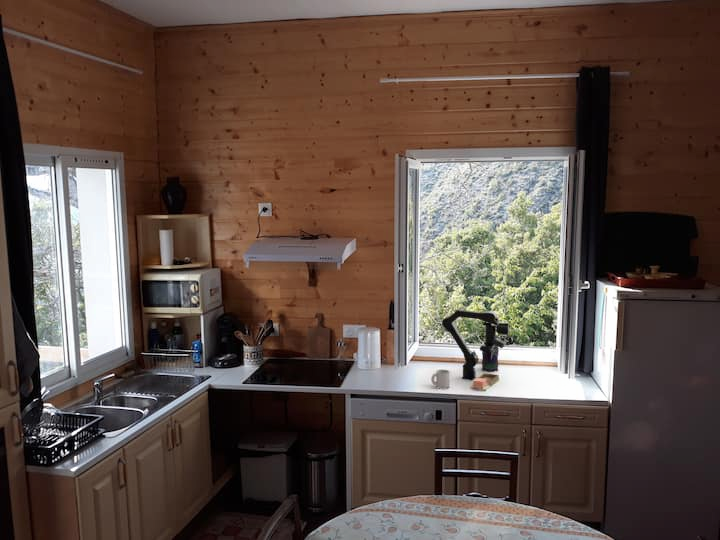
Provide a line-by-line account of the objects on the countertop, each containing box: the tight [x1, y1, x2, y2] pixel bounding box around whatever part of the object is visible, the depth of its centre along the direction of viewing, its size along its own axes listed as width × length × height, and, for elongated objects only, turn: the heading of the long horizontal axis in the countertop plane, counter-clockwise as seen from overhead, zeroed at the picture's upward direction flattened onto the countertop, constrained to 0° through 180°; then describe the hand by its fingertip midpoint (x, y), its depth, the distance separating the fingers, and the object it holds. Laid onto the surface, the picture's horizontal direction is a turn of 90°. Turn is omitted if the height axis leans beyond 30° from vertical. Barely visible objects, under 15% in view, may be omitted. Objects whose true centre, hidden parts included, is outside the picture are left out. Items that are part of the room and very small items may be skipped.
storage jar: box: [481, 343, 500, 373], centre depth 369 cm, size 10×10×15 cm
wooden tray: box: [470, 372, 500, 392], centre depth 341 cm, size 9×23×3 cm, turn 149°
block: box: [472, 377, 486, 389], centre depth 333 cm, size 6×6×4 cm
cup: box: [431, 369, 450, 389], centre depth 336 cm, size 7×10×9 cm
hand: (490, 360), depth 347 cm, fingers closed
